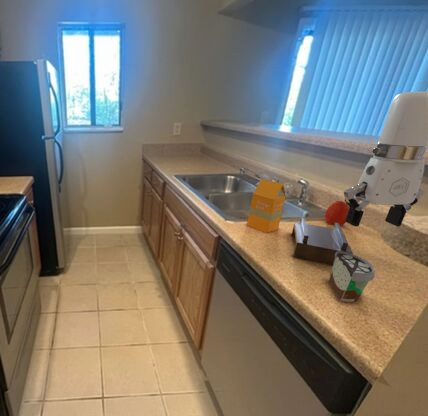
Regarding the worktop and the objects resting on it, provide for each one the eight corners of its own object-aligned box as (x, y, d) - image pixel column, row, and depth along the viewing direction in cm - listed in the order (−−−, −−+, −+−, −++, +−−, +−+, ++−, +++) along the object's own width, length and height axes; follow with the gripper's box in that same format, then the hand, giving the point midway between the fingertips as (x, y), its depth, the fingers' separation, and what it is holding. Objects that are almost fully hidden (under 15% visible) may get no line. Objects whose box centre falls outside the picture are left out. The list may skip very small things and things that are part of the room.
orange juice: (257, 222, 118) (267, 177, 111) (278, 230, 111) (289, 182, 104) (246, 226, 115) (255, 180, 108) (266, 234, 108) (277, 185, 100)
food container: (373, 313, 67) (388, 279, 64) (342, 306, 69) (354, 273, 66) (352, 284, 78) (364, 253, 74) (326, 279, 80) (336, 249, 76)
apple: (352, 228, 111) (361, 203, 108) (331, 228, 112) (339, 204, 108) (336, 220, 119) (344, 197, 115) (317, 220, 119) (324, 197, 116)
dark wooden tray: (336, 244, 99) (343, 223, 96) (346, 270, 84) (355, 246, 81) (290, 235, 106) (296, 215, 103) (292, 258, 91) (298, 235, 88)
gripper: (374, 156, 56) (348, 231, 63) (459, 155, 56) (425, 230, 62) (344, 150, 63) (323, 218, 70) (420, 149, 63) (392, 217, 69)
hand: (371, 224), depth 66 cm, fingers open, 9 cm apart
